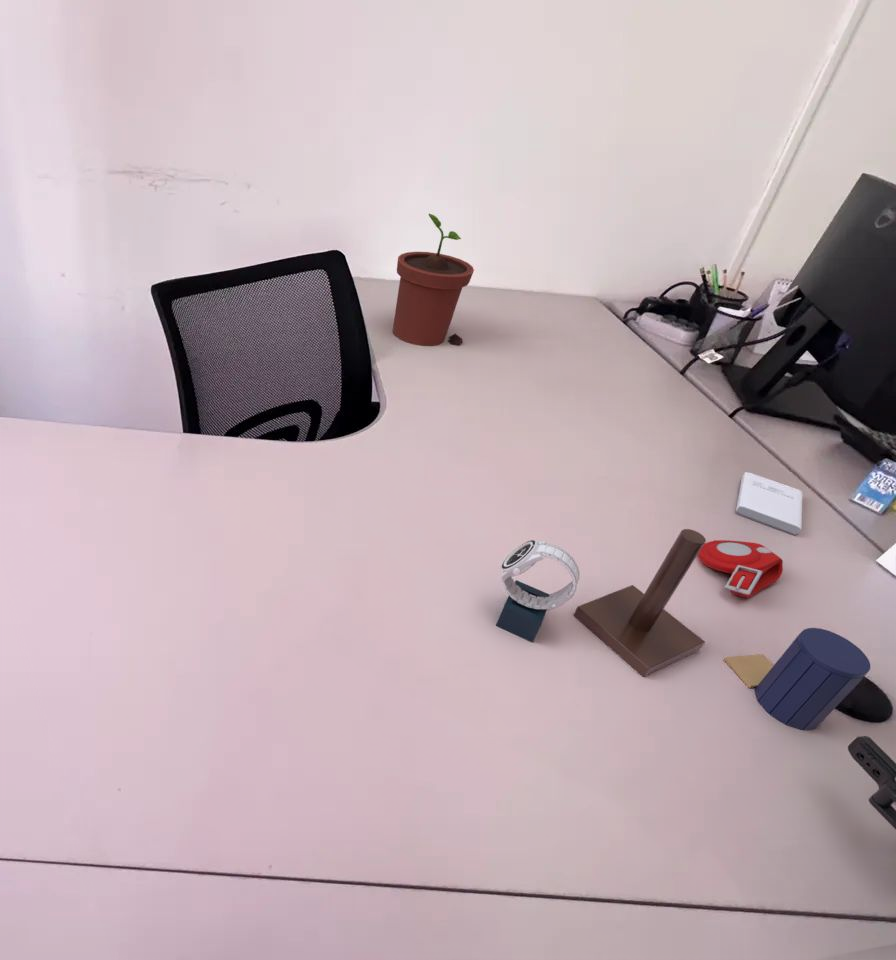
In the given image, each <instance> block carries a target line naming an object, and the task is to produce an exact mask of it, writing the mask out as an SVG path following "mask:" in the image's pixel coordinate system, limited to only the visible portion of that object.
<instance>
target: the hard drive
mask: <svg viewBox="0 0 896 960" xmlns="http://www.w3.org/2000/svg"><path fill="white" fill-rule="evenodd" d="M735 513H736V514H737V515H739V516H742V517H744V518H746V519H749V520H752V521H755V522H757V523H760V524H763V525H766V526H768V527H772V528H773V529H776V530H780V531H782V532H784V533H787V534H790V535H792V536H798V535H799V533H800V532H801V530H802V524H803V491H802V490H801V489H798V488H795V487H793V486H790V485H786V484H783V483H781V482H777V481H775V480H772V479H770V478H766V477H763V476H761V475H758V474H755V473H752V472H748V471H745V472H744V473H743V474H742V476H741V480H740V486H739V490H738V496H737V502H736V508H735Z"/></svg>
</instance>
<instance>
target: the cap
mask: <svg viewBox="0 0 896 960" xmlns="http://www.w3.org/2000/svg"><path fill="white" fill-rule="evenodd" d="M723 661H724V662H725V663H726V664H727V665H728V667H729V668H730V669H731V668H732V669H731V670H732V671H733V672H734V673H735V675H737V676H738V678H739V679H740V680H741V681H742V682H743V683H744V684H745V686H746V687H747V688H748V689H754V693H755V697H756V701H757V702H758V704H759V705H760V706H761V705H762V706H761V707H762V708H763V709H764V711H766V713H768V714H769V715H770V716H771V717H773V718H775V719H776V720H778V721H779V722H780V723H782V724H784V725H786V726H788V727H791V728H794V729H798V730H801V731H809V730H815V729H817V728H818V727H819V726H820V724H822V722H824V720H825V719H826V718H828V716H829V715H830V714H831V713H832V712H834V710H835V709H836V708H837V707H838V705H840V703H842V702H843V700H844V699H845V698H846V697H847V696H848V695H849V694H850V693H851V692H852V691H853V690H854V689H855V688H856V686H858V685H859V684H860V682H862V680H863V679H864V678H865V676H867V674H868V673H869V672H870V670H871V662H870V660H869V658H868V656H867V655H866V654H865V652H864V651H862V650H861V648H859V646H857V645H856V644H854V643H853V642H852V641H850V640H849V639H847V638H845V637H843V636H842V635H840V634H838V633H836V632H834V631H830V630H828V629H823V628H818V627H808V628H804V629H803V630H802V631H801V632H799V634H798V635H797V636H796V637H795V639H793V640H792V642H791V644H790V645H789V646H788V647H787V648H786V649H785V651H784V652H783V653H782V654H781V656H780V657H779V658H778V660H777V661H776V662H775V663H774V664H773V663H772V662H771V661H770V660H769V659H768V658H767V657H766V656H765V654H763V653H760V654H750V655H749V654H748V655H737V656H736V655H735V656H725V657H724V658H723ZM754 687H755V688H754Z"/></svg>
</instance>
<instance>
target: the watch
mask: <svg viewBox="0 0 896 960" xmlns="http://www.w3.org/2000/svg"><path fill="white" fill-rule="evenodd" d="M544 558H547V559H550V560H552V561H554V562H557V563H558V564H559V565H560V566H562V567H564V569H565V570H566V571H567V573H568V574H569V576H570V578H571V582H568V583H567V585H565V586H563V587H562V588H561V589H559V590H557V591H555V592H552V593H547V592H545V591H542V590H541V589H538V588H535V587H534V586H531V585H528V584H526V583H524V582H522V581H520V580H517V579H515V580H514V577H517V576H520V575H522V574H525V573H526V572H527V571H529V570H530V569H531V568H532V567H533V566H534V565H535V564H536V563H537V562H540V561H542V560H544ZM500 567H501V568H500V569H501V570H502V574H501V576H500V579H501V585H502V587H503V589H504V590H505V593H506V594H507V595H508V596H507V597H506V598H507V599H506V600H505V602H504V605H503V607H502V609H501V611H500V614H499V617H498V619H497V622H496V624H495V626H496V627H498V628H500V629H502V630H505V631H507V632H509V633H511V634H514V635H515V636H517V637H520V638H522V639H524V640H526V641H528V642H531V643H534V641H535V640H536V637H537V635H538V632H539V630H540V628H541V626H542V624H543V621H544V618H545V616H546V613H547V611H551V610H554V609H556V608H558V607H561V606H563V605H564V604H566V603H567V602H569V600H571V599H572V598H573V597H574V596H575V594H576V591H577V587H578V584H579V580H580V570H579V566H578V564H577V562H576V561H575V559H574V558H573V557H572V555H570V553H569V552H567V551H566V550H565V549H563V548H562V547H560V546H558V545H554V544H552V543H549V542H548V541H537V540H536V539H531V540H527V541H526V542H523V543H522V544H521V545H519V546H517V547H516V548H515V549H513V550H512V551H511V553H509V554H508V555H507V557H506V558H505V559H504V560H503V562H502V564H501V566H500ZM512 577H513V578H512Z"/></svg>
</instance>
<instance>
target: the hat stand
mask: <svg viewBox="0 0 896 960" xmlns="http://www.w3.org/2000/svg"><path fill="white" fill-rule="evenodd" d="M706 541H707V540H706V537H705V536H704V535H703V534H702V533H700V532H698V531H696V530H694V529H690V528H683V529H682V530H681V531H680V532H679V534H678V535H677V538H676V539H675V541H674V543H673V544H672V546H671V548H670V549H669V551H668V553H667V554H666V556H665V558H664V560H663V561H662V563H661V564H660V566H659V568H658V570H657V572H656V573H655V574H654V576H653V578H652V580H651V582H650V583H649V585H648V586H647V588H646V590H645V592H643V591H641V590H640V589H639V588H637V587H636V586H635V585H633V584H632V585H629V586H627V587H624V588H621V589H619V590H616V591H614V592H611V593H608V594H606V595H604V596H600V597H598V598H596V599H594V600H590V601H588V602H585V603H583V604H580V605H578V606H577V607H576V609H575V611H574V612H573V616H574V617H575V618H576V619H577V620H579V621H580V622H581V623H582V624H583V625H584V626H585V627H586V628H588V629H589V630H590V631H591V632H592V633H593V634H594V635H596V636H597V637H598V638H599V639H600V640H601V641H602V642H603V643H604V644H605V645H606V646H608V648H610V649H611V648H612V649H611V650H612V651H614V653H616V654H617V655H618V654H619V655H618V656H619V657H620V658H621V659H623V661H625V662H626V663H627V664H628V665H629V666H630V667H631V668H633V669H634V670H635V671H636V672H637V673H638V674H639V675H641V677H643V678H644V677H647V676H648V675H651V674H653V673H655V672H657V671H660V670H661V669H663V668H665V667H667V666H670V665H672V664H674V663H676V662H678V661H680V660H682V659H684V658H686V657H688V656H690V655H692V654H695V653H696V652H699V651H700V650H701V648H702V647H703V646H704V645H705V643H706V641H705V640H703V638H701V637H700V636H698V635H697V634H696V633H695V632H693V631H692V629H690V628H689V627H687V626H686V625H684V624H683V623H682V622H681V621H680V620H678V619H677V618H675V617H674V616H673V615H672V614H670V613H669V612H668V611H666V609H665V608H666V606H667V605H668V603H669V601H670V600H671V599H672V597H673V595H674V593H676V592H675V591H676V590H677V589H678V587H679V585H680V583H682V580H683V579H684V577H685V576H686V574H687V573H688V571H689V569H690V568H691V566H692V565H693V563H694V562H695V559H697V557H698V553H699V552H700V550H701V548H702V547H703V545H704V544H705V543H707V542H706Z"/></svg>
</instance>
